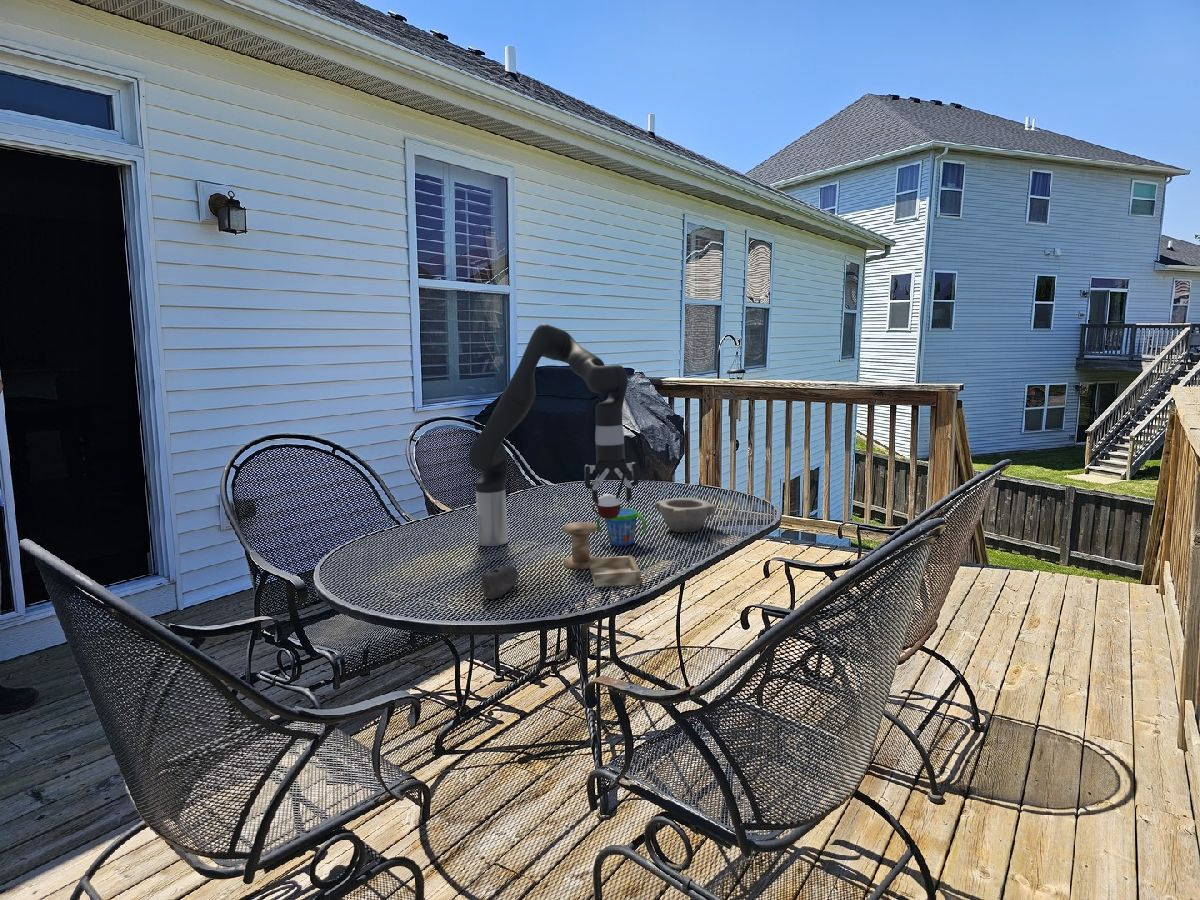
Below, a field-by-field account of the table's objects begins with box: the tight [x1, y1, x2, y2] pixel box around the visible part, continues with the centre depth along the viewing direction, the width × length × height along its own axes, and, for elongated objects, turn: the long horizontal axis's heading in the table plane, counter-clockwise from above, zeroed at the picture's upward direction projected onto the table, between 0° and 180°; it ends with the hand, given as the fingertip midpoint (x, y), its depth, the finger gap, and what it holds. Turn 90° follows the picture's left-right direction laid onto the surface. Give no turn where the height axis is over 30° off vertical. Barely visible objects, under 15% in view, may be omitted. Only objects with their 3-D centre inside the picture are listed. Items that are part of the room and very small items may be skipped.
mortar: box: [654, 496, 718, 533], centre depth 242 cm, size 17×17×9 cm
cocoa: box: [592, 472, 627, 520], centre depth 194 cm, size 10×6×12 cm, turn 51°
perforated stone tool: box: [480, 565, 519, 600], centre depth 187 cm, size 15×5×7 cm, turn 153°
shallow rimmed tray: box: [589, 555, 642, 588], centre depth 197 cm, size 12×15×3 cm
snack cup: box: [596, 507, 647, 547], centre depth 228 cm, size 16×10×10 cm
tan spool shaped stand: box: [561, 521, 598, 570], centre depth 209 cm, size 10×10×11 cm
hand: (612, 502), depth 195 cm, fingers closed on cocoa, 8 cm apart
